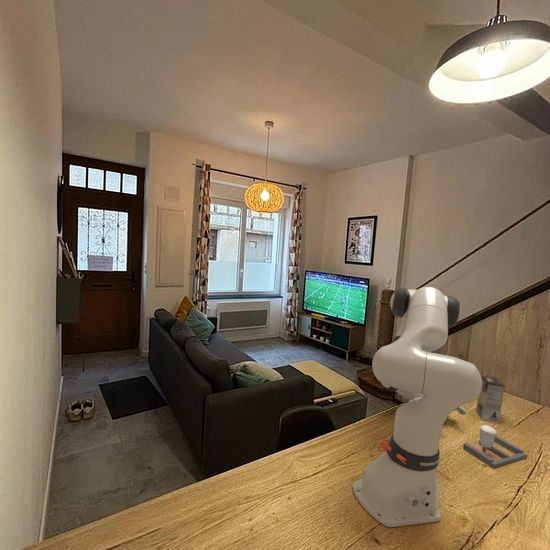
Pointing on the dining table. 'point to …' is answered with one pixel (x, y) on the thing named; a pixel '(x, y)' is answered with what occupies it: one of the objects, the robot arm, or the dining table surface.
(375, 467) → the robot arm
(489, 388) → the coffee box
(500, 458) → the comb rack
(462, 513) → the dining table surface
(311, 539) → the dining table surface
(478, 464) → the dining table surface
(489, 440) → the milkshake
